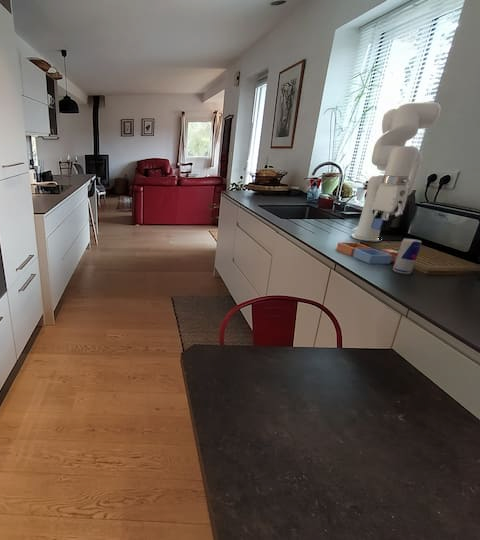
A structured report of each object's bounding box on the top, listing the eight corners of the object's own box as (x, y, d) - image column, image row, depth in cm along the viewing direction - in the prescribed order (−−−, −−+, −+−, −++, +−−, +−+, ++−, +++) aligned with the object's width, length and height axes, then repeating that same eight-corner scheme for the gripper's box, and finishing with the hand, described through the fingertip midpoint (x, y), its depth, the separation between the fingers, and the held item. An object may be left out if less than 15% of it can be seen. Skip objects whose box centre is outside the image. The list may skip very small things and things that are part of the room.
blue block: (371, 228, 130) (374, 218, 129) (380, 228, 130) (383, 218, 129) (379, 230, 126) (382, 220, 125) (388, 230, 126) (392, 220, 125)
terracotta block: (378, 258, 134) (381, 249, 133) (388, 258, 134) (391, 249, 133) (386, 261, 130) (390, 252, 129) (396, 261, 131) (399, 252, 129)
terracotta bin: (336, 249, 145) (338, 242, 144) (355, 249, 146) (357, 242, 144) (350, 255, 137) (352, 248, 136) (370, 255, 137) (372, 248, 136)
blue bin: (352, 256, 136) (354, 248, 135) (372, 256, 136) (374, 248, 135) (368, 263, 127) (371, 255, 126) (390, 263, 128) (392, 255, 127)
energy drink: (411, 275, 116) (423, 243, 112) (392, 272, 119) (403, 240, 115) (410, 271, 120) (421, 240, 116) (392, 268, 123) (402, 237, 119)
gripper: (425, 183, 114) (407, 234, 121) (385, 179, 130) (372, 224, 136) (405, 183, 114) (388, 233, 120) (368, 179, 130) (355, 224, 136)
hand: (380, 228), depth 128 cm, fingers closed on blue block, 4 cm apart
